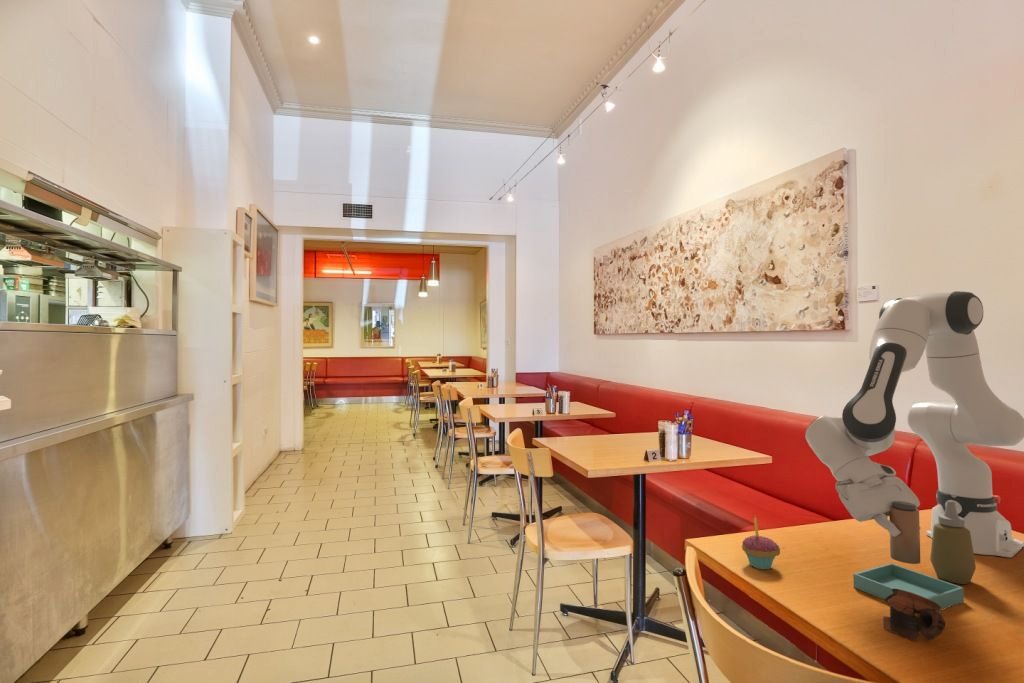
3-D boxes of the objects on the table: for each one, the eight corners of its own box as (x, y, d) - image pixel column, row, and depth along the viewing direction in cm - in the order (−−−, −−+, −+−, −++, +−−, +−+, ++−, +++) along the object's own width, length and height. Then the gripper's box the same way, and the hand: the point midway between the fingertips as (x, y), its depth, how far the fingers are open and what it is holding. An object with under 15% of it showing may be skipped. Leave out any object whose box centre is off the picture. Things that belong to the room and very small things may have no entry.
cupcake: (734, 560, 129) (733, 513, 129) (763, 557, 131) (762, 511, 131) (757, 574, 121) (756, 524, 121) (788, 571, 122) (787, 521, 123)
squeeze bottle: (985, 588, 113) (983, 507, 113) (944, 585, 114) (941, 505, 115) (961, 573, 121) (958, 497, 121) (922, 570, 122) (920, 495, 123)
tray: (891, 575, 119) (891, 563, 120) (963, 602, 107) (963, 587, 107) (853, 587, 114) (853, 573, 114) (925, 616, 101) (924, 601, 101)
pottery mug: (866, 622, 100) (876, 581, 102) (912, 645, 99) (920, 603, 102) (918, 640, 88) (927, 593, 91) (969, 665, 88) (977, 617, 90)
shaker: (899, 553, 114) (897, 499, 114) (925, 561, 109) (924, 505, 109) (885, 556, 112) (883, 502, 112) (911, 565, 107) (910, 508, 107)
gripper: (841, 474, 113) (889, 532, 104) (896, 466, 121) (945, 519, 112) (822, 489, 117) (867, 546, 108) (876, 481, 125) (923, 533, 116)
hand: (907, 532), depth 110 cm, fingers closed on shaker, 5 cm apart
